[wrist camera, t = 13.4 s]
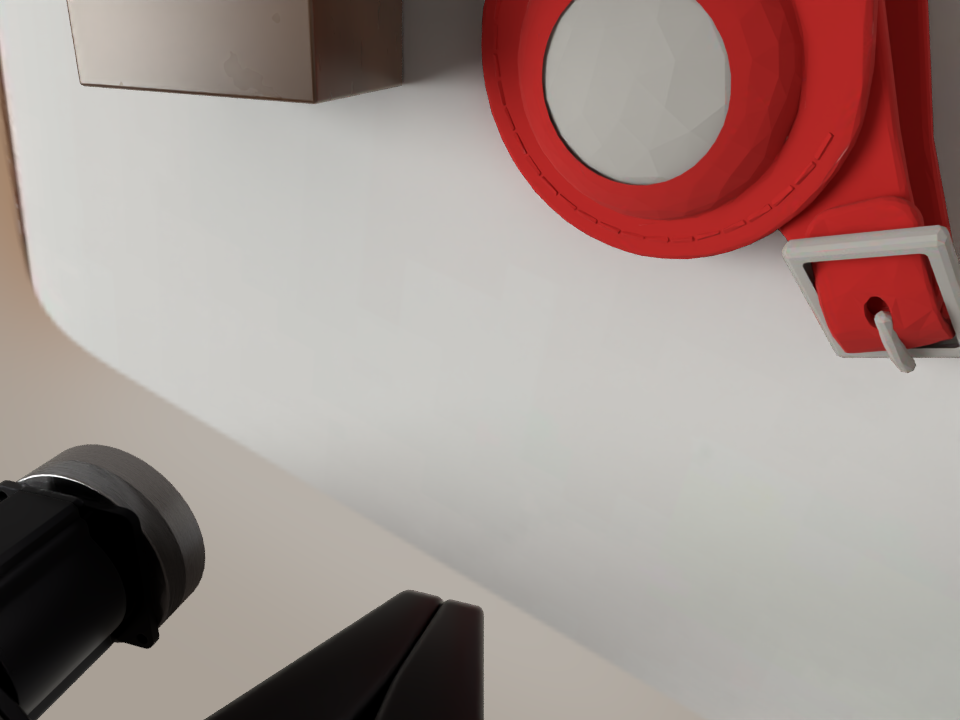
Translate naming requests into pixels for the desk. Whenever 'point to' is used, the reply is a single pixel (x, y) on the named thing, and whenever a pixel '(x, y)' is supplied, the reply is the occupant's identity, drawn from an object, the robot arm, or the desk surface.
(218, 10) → the wooden block
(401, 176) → the desk surface
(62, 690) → the robot arm
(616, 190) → the tracker holder
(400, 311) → the desk surface
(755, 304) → the desk surface
